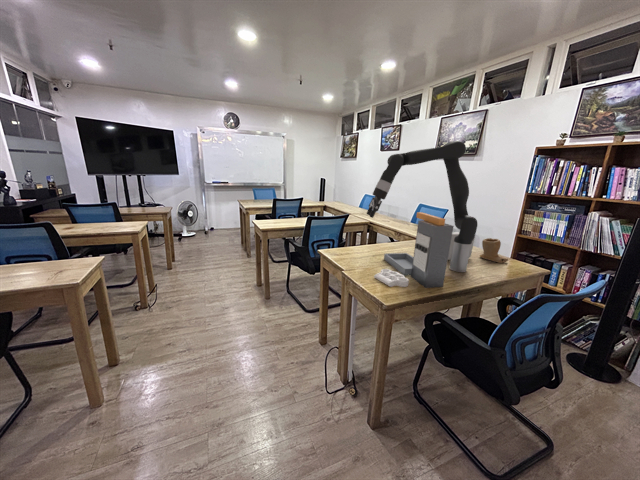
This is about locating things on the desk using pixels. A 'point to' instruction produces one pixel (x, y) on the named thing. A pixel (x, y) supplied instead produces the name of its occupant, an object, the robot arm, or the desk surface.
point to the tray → (400, 262)
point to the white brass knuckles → (392, 278)
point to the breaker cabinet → (431, 253)
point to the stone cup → (492, 250)
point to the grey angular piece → (453, 243)
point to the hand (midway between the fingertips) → (369, 215)
